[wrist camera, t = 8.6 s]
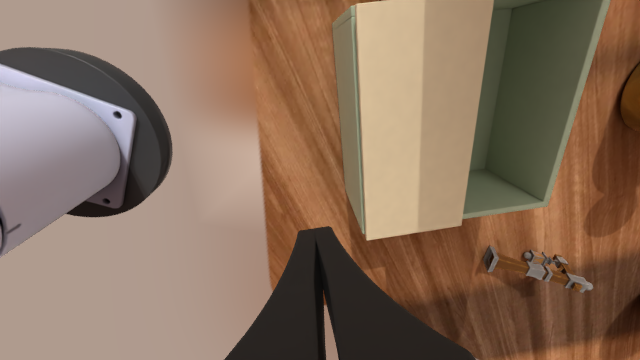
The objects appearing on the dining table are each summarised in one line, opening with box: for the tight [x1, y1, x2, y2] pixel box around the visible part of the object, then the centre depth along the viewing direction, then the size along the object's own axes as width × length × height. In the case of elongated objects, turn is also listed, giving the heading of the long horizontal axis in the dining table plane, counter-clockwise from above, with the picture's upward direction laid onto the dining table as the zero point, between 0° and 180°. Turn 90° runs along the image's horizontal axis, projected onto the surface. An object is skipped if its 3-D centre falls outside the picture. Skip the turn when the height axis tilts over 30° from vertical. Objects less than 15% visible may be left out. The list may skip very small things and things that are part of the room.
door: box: [355, 0, 494, 241], centre depth 13 cm, size 6×12×1 cm, turn 6°
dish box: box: [332, 0, 610, 234], centre depth 16 cm, size 12×12×6 cm
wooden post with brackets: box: [483, 246, 593, 293], centre depth 25 cm, size 2×8×4 cm, turn 85°
